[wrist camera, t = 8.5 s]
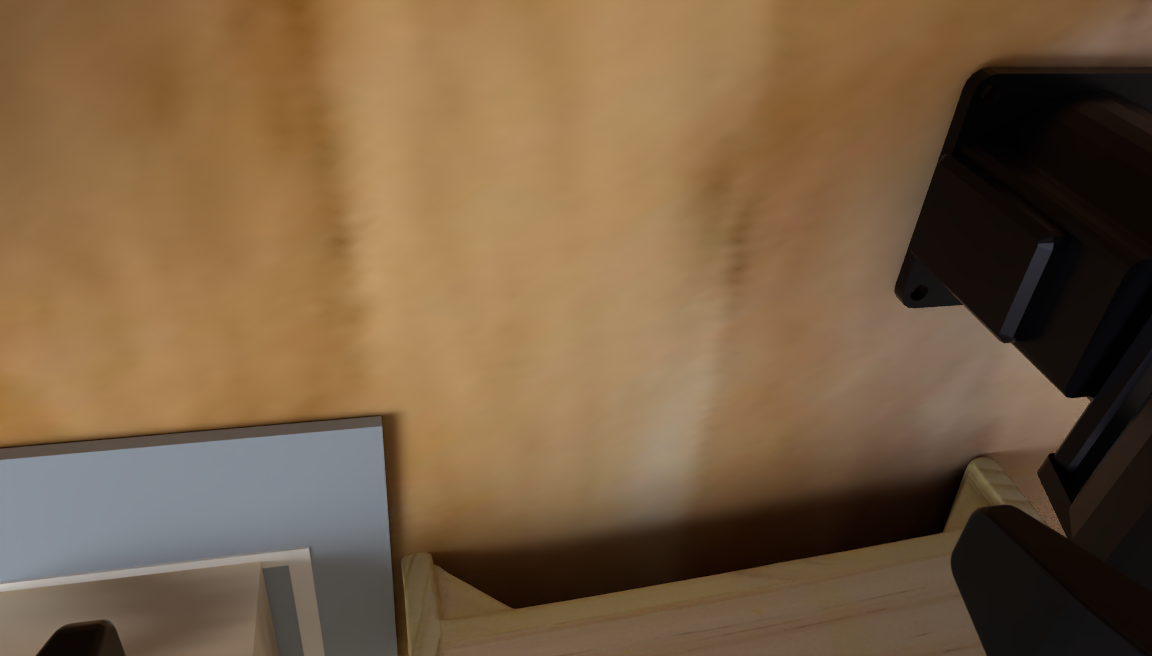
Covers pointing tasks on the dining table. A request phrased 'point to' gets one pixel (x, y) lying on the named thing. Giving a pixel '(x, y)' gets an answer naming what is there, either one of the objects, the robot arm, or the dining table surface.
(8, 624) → the block
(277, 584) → the building mat
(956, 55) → the dining table surface
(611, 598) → the toy sofa
